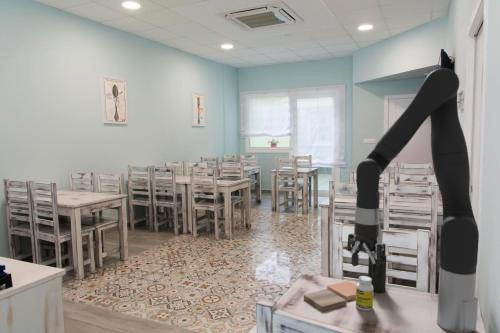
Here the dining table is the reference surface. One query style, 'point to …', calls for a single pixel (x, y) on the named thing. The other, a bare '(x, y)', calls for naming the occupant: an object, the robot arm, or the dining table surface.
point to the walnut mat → (325, 300)
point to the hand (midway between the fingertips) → (364, 269)
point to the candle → (380, 278)
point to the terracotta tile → (344, 290)
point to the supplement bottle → (364, 293)
